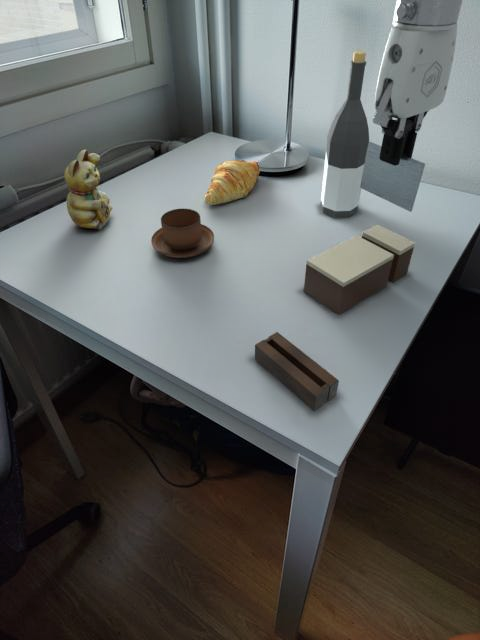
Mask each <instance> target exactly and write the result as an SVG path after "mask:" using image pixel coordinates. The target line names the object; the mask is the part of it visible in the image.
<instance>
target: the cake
mask: <svg viewBox="0 0 480 640" xmlns="http://www.w3.org/2000/svg"><path fill="white" fill-rule="evenodd" d="M393 257H394V255H393V254H392V253H390V252H388V251H386V250H384V249H382V248H380V247H378V246H376V245H374V244H372V243H371V242H369V241H367V240H365V239H363V238H362V236H359V235H357V234H356V235H354V236H352V237H350V238H347V239H346V240H344V241H342V242H339V243H338V244H336V245H334V246H332V247H330V248H328V249H326V250H324V251H322V252H320V253H318V254H316V255H314V256H312V257H310V258H307V259H306V264H305V274H304V284H303V293H306V294H307V295H308V296H310V297H311V298H313V299H315V300H316V301H318V302H319V303H321V305H323V306H324V307H326V308H328V309H329V310H331V311H332V312H333V313H335V314H337V315H338V316H340V315H342V314H343V313H344V312H347V311H348V310H349V309H351V308H353V307H354V306H356V305H357V304H359V303H362V301H364V300H366V299H368V298H369V297H371V296H373V295H374V294H376V293H377V292H380V291H382V290H383V289H385V288H386V287H387V286H388V282H389V280H388V278H389V274H390V270H391V266H392V262H393Z"/></svg>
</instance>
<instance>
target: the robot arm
mask: <svg viewBox="0 0 480 640" xmlns="http://www.w3.org/2000/svg"><path fill="white" fill-rule="evenodd" d="M462 4H463V0H395V7H394V11H393V19H392V22H391V23H392V24H391V25H392V26H391V28H390V31H389V34H388V38H387V41H386V44H385V47H384V51H383V55H382V59H381V63H380V68H379V72H378V77H377V82H376V88H375V94H374V109H375V113H374V116H373V118H372V123H373V124H375V125H378V126H380V127H381V133H382V134H383V136H382V142H381V145H380V146H381V152H380V157H379V158H380V160H381V161H384V162H386V163H389V164H392V165H394V166H396V165H398V164H399V163H400V158H401V154H402V149H403V145H404V140H405V137H402V135H403V132H404V127H405V123H406V119H408V120H410V121H413V125H412V129H411V133H410V137H409V141H408V145H407V149H406V152H405V153H404V154H402V155H405V156H407V157H410V158H412V159H413V154H414V149H415V145H416V141H417V137H418V132H419V131H421V129H422V124H423V121H424V118H425V117H426V115H427V114H428V112H430V111H431V110H434V109H436V108H438V107H439V106H440V105H441V104H442V103H443V102H444V100H445V97H446V93H447V89H448V84H449V80H450V77H451V72H452V67H453V66H452V65H453V61H454V55H455V51H456V44H457V34H458V20H459V16H460V12H461V9H462ZM396 119H398V121H397V123H396V121H395V120H396Z"/></svg>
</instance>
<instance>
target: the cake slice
mask: <svg viewBox="0 0 480 640" xmlns="http://www.w3.org/2000/svg"><path fill="white" fill-rule="evenodd" d="M361 238H363V239H365V240H367V241H369V242H371V243H372V244H374V245H376V246H378V247H380V248H382V249H384V250H386V251H388V252H390V253H392V254H393V255H394V257H393V262H392V266H391V270H390V274H389V278H388V282H389V281H390V282H391V283H394V282H396V281H398V280H399V279H401V278H403V277H404V276H406V275H407V274H408V271H409V268H410V263H411V260H412V256H413V253H414V249H415V246H416V242H414V241H412V240H410V239H408V238H407V237H404V236H402V235H400V234H398V233H395V232H393V231H392V230H390V229H388V228H386V227H383V226H382V225H379V224H376V225H373V226H372V227H370V228H368V229H366V230H364V231H362V233H361Z"/></svg>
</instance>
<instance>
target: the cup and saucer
mask: <svg viewBox="0 0 480 640" xmlns="http://www.w3.org/2000/svg"><path fill="white" fill-rule="evenodd" d="M160 223H161V227H160V228H159V229H157V230H156V231H155V232H154V233H153V235H152V236H151V239H150V240H151V241H150V242H151V246H152V248H153V249H154V250H155V251H156V252H157V253H159V254H161V255H163V256H166V257H169V258H174V259H175V258H176V259H184V258H185V259H186V258H192V257H195V256H198V255H200V254H202V253H204V252H206V251H207V250H208V249H209V248H211V246H212V245H213V243H214V241H215V234H214V232H213V230H212V229H211V228H210V227H208V226H206V225H205V224H203V223H202V221H201V214H200V213H199V212H198V211H196V210H194V209H190V208H175V209H170V210H169V211H166V212H164V214H162V215H161V217H160Z"/></svg>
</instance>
